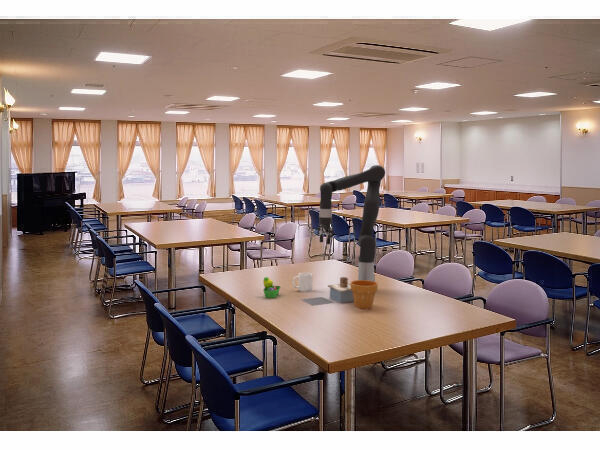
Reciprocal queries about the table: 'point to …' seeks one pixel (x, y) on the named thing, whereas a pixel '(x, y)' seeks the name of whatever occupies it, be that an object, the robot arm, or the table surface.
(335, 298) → the blue gray open box
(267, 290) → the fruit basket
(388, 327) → the table surface
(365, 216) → the robot arm
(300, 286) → the cup
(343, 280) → the lid
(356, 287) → the flower pot
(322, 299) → the mat
